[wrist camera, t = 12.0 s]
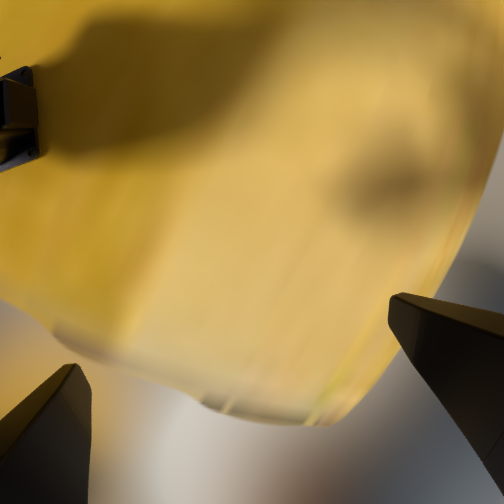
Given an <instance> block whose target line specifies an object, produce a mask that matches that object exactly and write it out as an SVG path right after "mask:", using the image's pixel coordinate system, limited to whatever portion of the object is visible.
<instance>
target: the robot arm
mask: <svg viewBox="0 0 504 504" xmlns="http://www.w3.org/2000/svg"><path fill="white" fill-rule="evenodd" d="M0 59H1V57H0ZM25 71H27V74H26V75H25V76H24V77H23V74H24V72H25ZM38 124H39V122H38V112H37V100H36V89H34V88H33V73H32V69H31V68H30V67H28V66H24V67H21V68H19V69H17V70H15V71H12V72H10V73H8V74H6V75H4V76H2V77H0V172H3V171H5V170H8V169H11V168H13V167H16V166H19V165H21V164H24V163H27V162H30V161H33V160H35V159H37V157H38V156H39V153H40V150H39V143H38V135H37V126H38ZM31 149H33V150H34V154H33V156H31V154H30V151H31ZM388 324H389V327H390V329H391V330H392V332H393V334H394V335H395V337H396V338H397V340H398V342H399V343H400V345H401V347H402V348H403V350H404V352H405V353H406V355H407V357H408V358H409V360H410V361H411V363H412V364H413V366H414V367H415V369H416V370H417V371H418V372H419V374H420V375H421V377H422V378H423V379H424V380H425V382H426V383H427V385H428V386H429V387H430V389H431V390H432V391H433V393H434V394H435V395H436V397H437V398H438V400H439V401H440V402H441V404H442V405H443V406H444V408H445V409H446V410H447V412H448V413H449V415H450V416H451V418H452V419H453V420H454V422H455V423H456V425H457V426H458V427H459V429H460V430H461V432H462V433H463V435H464V436H465V438H466V439H467V440H468V442H469V443H470V445H471V446H472V448H473V449H474V451H475V452H476V454H477V455H478V457H479V458H480V460H481V461H482V462H483V464H484V466H485V468H486V469H487V471H488V472H489V474H490V475H491V477H492V478H493V480H494V481H495V483H496V485H497V486H498V488H499V490H500V491H501V493H502V494H503V496H504V315H503V314H502V313H498V312H493V311H488V310H484V309H479V308H474V307H469V306H464V305H460V304H455V303H451V302H446V301H441V300H437V299H432V298H427V297H423V296H418V295H413V294H409V293H404V292H402V293H398V294H395V295H393V296H391V298H390V301H389V312H388ZM91 402H92V392H91V387H90V385H89V383H88V381H87V379H86V377H85V375H84V373H83V371H82V369H81V367H80V366H79V365H78V364H76V363H74V364H65V365H63V366H62V367H61V368H60V369H59V370H57V371H56V372H55V373H54V374H53V375H52V376H50V377H49V378H48V379H47V380H46V381H45V382H43V383H42V384H41V385H40V386H39V387H38V388H36V389H35V390H34V391H33V392H32V393H31V394H30V395H28V396H27V397H26V398H25V399H24V400H23V401H22V402H20V403H19V404H18V405H17V406H16V407H15V408H14V409H13V410H11V411H10V412H9V413H8V414H7V415H6V416H5V417H4V418H2V419H1V420H0V504H88V480H89V479H88V478H89V464H90V450H91Z"/></svg>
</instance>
